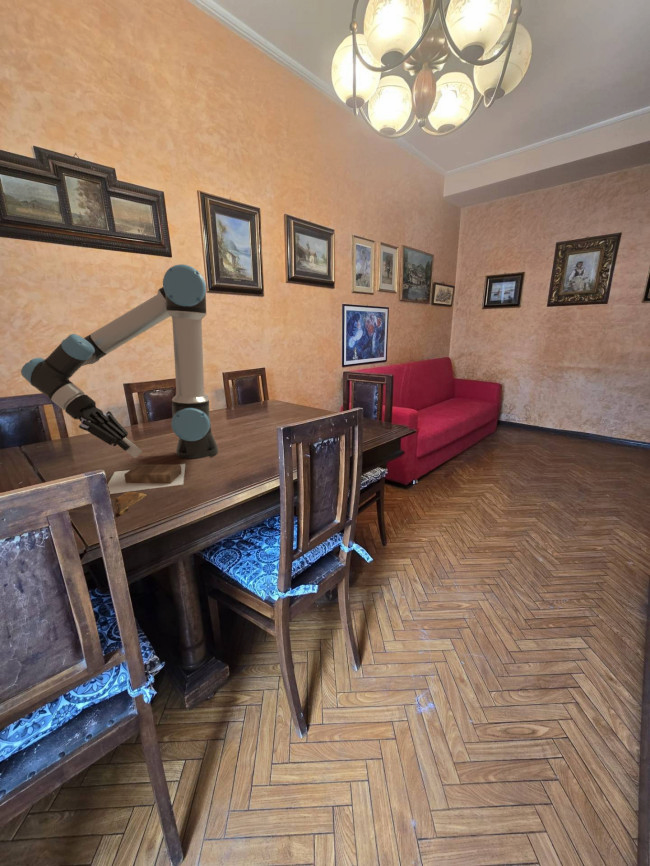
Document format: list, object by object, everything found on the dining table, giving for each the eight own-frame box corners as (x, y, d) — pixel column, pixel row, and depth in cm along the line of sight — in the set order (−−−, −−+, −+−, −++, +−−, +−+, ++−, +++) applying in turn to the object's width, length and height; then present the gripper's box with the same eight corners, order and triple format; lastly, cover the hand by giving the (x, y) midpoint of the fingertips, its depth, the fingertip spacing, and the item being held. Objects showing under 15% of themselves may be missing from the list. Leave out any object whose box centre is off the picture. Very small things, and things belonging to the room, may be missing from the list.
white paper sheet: (185, 465, 123) (185, 463, 123) (183, 486, 107) (183, 484, 107) (115, 473, 116) (114, 471, 116) (101, 497, 100) (101, 495, 100)
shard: (120, 518, 90) (118, 511, 90) (95, 514, 92) (94, 508, 91) (148, 498, 100) (148, 493, 100) (126, 496, 102) (125, 490, 102)
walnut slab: (124, 474, 107) (169, 474, 106) (138, 464, 114) (180, 464, 114) (125, 483, 108) (170, 483, 107) (139, 472, 115) (181, 473, 115)
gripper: (83, 406, 112) (142, 455, 116) (51, 416, 99) (119, 470, 104) (96, 389, 110) (156, 440, 115) (66, 397, 98) (134, 453, 102)
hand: (138, 454), depth 109 cm, fingers closed
